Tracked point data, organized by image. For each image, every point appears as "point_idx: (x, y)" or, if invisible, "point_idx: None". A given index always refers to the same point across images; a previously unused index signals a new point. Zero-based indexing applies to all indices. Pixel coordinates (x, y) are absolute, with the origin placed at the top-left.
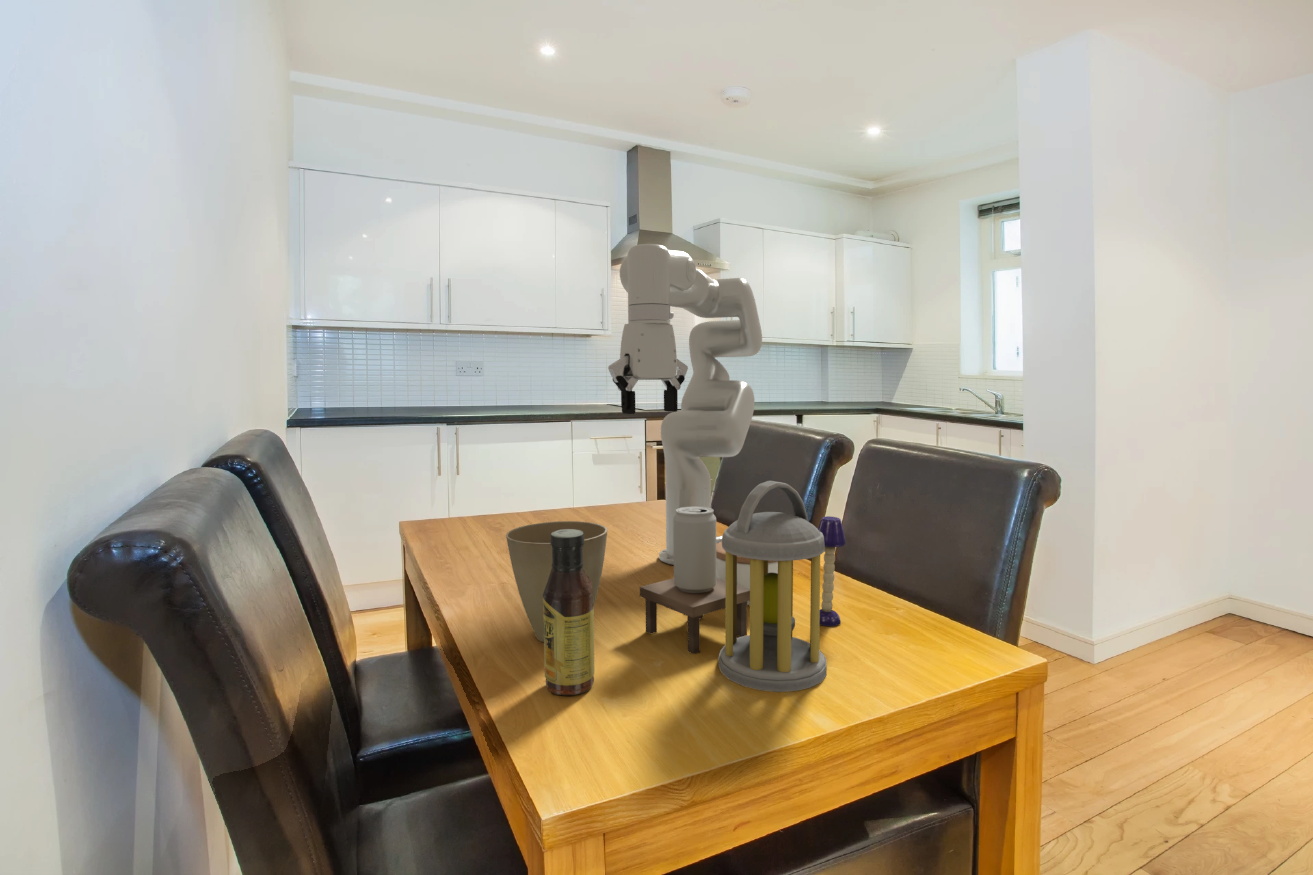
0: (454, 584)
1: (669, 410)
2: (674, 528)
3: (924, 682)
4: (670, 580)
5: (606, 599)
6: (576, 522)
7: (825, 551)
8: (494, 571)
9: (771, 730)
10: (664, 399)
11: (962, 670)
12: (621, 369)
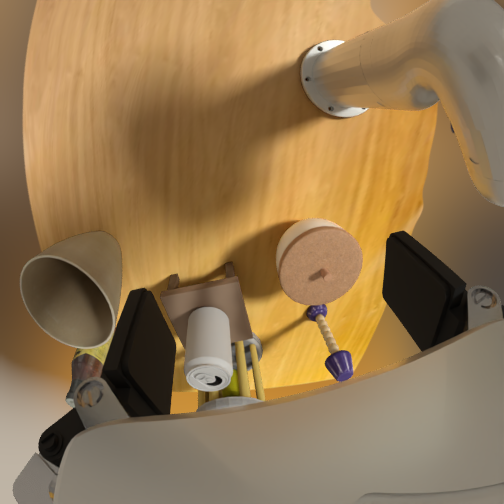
0: (39, 66)
1: (385, 272)
2: (184, 362)
3: (287, 379)
4: (196, 293)
5: (164, 176)
6: (83, 271)
7: (331, 353)
8: (85, 25)
9: (189, 385)
10: (416, 268)
11: (315, 375)
12: (74, 500)
